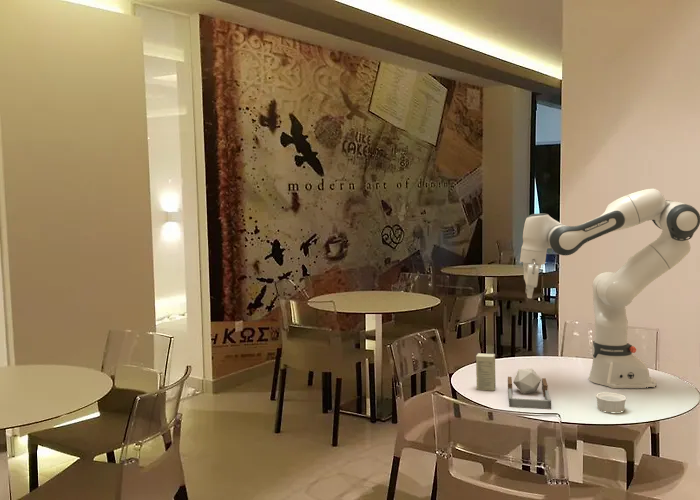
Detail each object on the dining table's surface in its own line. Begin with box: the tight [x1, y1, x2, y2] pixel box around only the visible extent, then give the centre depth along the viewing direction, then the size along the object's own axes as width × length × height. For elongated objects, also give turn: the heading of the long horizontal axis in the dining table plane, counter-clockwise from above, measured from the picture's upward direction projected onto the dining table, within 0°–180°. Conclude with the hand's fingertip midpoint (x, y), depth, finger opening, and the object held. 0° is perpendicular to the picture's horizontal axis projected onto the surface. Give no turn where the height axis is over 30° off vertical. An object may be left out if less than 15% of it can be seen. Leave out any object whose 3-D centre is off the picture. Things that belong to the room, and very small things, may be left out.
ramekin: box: [595, 392, 627, 413], centre depth 212 cm, size 9×9×4 cm
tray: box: [507, 387, 552, 410], centre depth 220 cm, size 13×11×2 cm
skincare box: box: [475, 352, 497, 392], centre depth 234 cm, size 6×4×12 cm
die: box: [512, 368, 542, 395], centre depth 231 cm, size 8×9×10 cm
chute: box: [507, 376, 549, 398], centre depth 230 cm, size 13×8×4 cm, turn 78°
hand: (528, 295), depth 242 cm, fingers open, 8 cm apart
